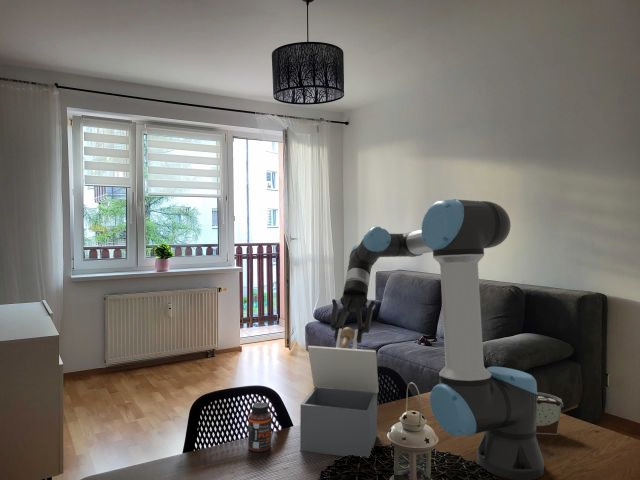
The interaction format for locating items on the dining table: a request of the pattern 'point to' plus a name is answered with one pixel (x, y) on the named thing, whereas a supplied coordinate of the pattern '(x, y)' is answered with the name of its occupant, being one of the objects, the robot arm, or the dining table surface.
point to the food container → (548, 414)
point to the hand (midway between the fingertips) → (345, 351)
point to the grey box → (338, 422)
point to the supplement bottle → (259, 428)
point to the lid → (344, 366)
